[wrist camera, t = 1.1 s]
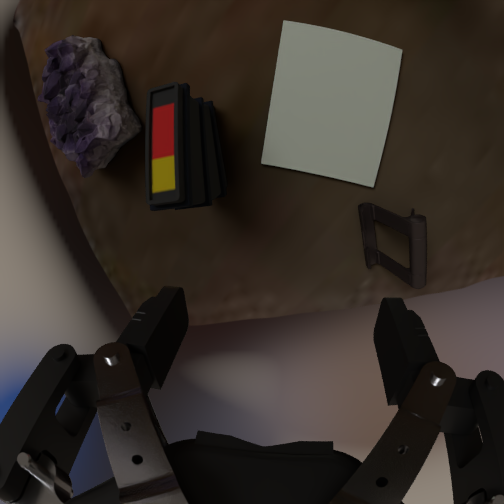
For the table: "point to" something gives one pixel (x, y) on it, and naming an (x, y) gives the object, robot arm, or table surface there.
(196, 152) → the black red yellow block
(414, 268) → the portable electronic device stand
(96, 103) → the geode
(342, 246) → the table surface
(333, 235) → the table surface
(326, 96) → the sage mat
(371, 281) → the table surface
